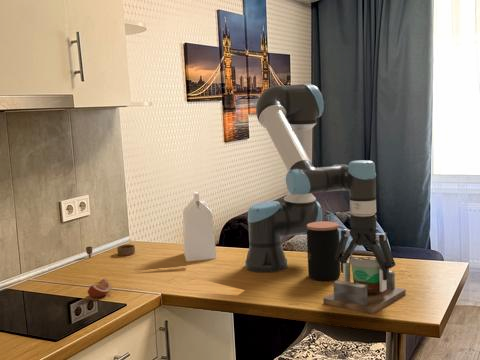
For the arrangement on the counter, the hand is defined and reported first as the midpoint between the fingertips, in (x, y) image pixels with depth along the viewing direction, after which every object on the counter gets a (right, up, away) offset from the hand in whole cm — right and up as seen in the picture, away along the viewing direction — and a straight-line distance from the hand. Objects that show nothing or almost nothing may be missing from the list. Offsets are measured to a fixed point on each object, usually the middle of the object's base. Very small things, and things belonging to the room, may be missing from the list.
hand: (364, 287), depth 173 cm
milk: (-52, +1, +57) cm, 77 cm away
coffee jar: (-8, -1, +24) cm, 25 cm away
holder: (0, -4, 0) cm, 3 cm away
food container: (+1, -1, 0) cm, 2 cm away
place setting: (-86, -1, +66) cm, 109 cm away
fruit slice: (-81, -6, +15) cm, 83 cm away
